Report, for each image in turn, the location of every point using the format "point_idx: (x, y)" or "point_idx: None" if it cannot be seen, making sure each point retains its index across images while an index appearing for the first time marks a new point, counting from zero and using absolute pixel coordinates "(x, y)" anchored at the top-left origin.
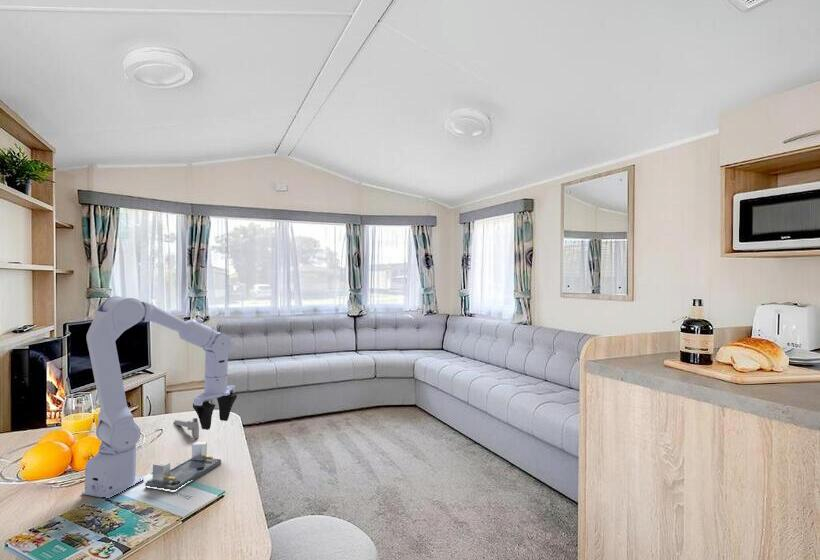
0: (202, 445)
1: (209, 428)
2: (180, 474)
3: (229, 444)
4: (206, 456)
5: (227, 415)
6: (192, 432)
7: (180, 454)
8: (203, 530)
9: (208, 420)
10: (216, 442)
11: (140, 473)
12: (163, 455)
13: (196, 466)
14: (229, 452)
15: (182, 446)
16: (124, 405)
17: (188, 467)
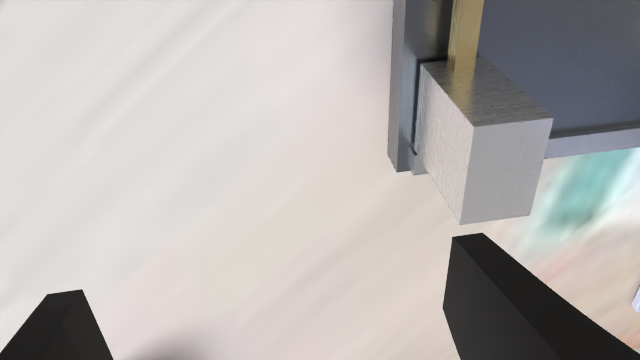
0: (540, 116)
1: (470, 239)
2: None
3: (23, 158)
4: (475, 41)
5: (47, 355)
6: None
7: (334, 287)
8: None
9: (593, 325)
10: (63, 262)
11: (595, 260)
12: (375, 337)
13: (574, 17)
14: (153, 31)
15: (235, 357)
16: None
17: (595, 59)
